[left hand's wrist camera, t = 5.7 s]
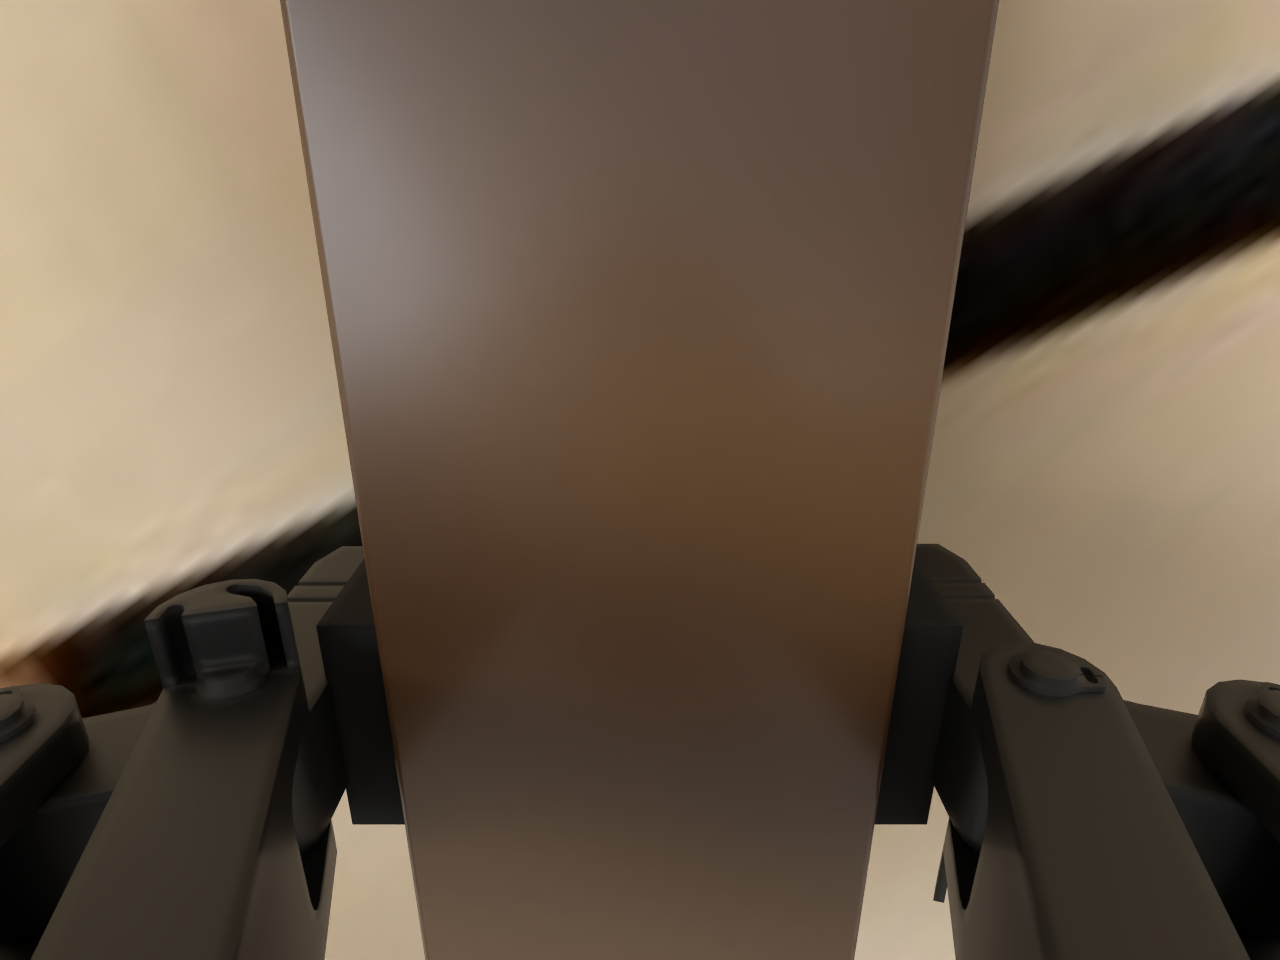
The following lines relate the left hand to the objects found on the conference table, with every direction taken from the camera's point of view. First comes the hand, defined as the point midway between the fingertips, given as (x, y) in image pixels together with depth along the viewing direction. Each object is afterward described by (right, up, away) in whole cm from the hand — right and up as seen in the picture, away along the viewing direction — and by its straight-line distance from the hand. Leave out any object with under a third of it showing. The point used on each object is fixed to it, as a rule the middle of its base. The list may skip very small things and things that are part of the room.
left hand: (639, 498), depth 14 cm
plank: (0, +26, -10) cm, 28 cm away
